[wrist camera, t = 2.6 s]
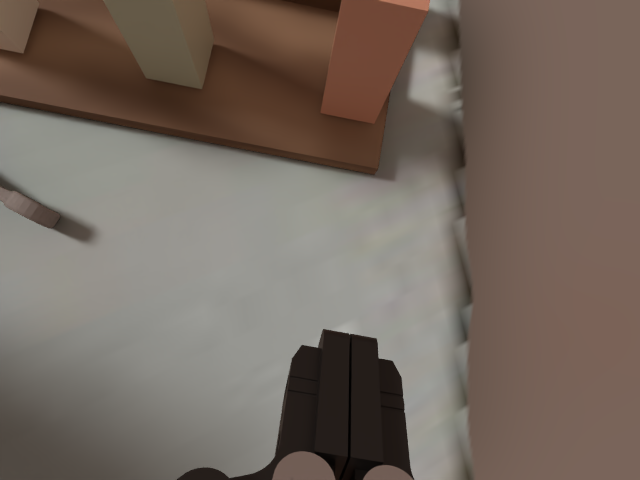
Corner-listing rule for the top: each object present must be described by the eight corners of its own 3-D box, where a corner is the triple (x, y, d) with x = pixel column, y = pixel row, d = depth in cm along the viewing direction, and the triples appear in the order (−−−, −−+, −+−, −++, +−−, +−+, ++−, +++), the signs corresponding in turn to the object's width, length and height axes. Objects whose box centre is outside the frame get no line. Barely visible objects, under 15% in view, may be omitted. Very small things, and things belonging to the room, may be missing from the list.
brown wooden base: (374, 174, 31) (390, 149, 26) (-44, 93, 29) (-102, 52, 25) (402, -2, 33) (420, -51, 29) (17, -85, 32) (-26, -150, 27)
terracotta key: (374, 123, 30) (428, 11, 19) (320, 113, 29) (343, -8, 19) (382, 74, 30) (438, -63, 19) (329, 63, 30) (357, -81, 19)
